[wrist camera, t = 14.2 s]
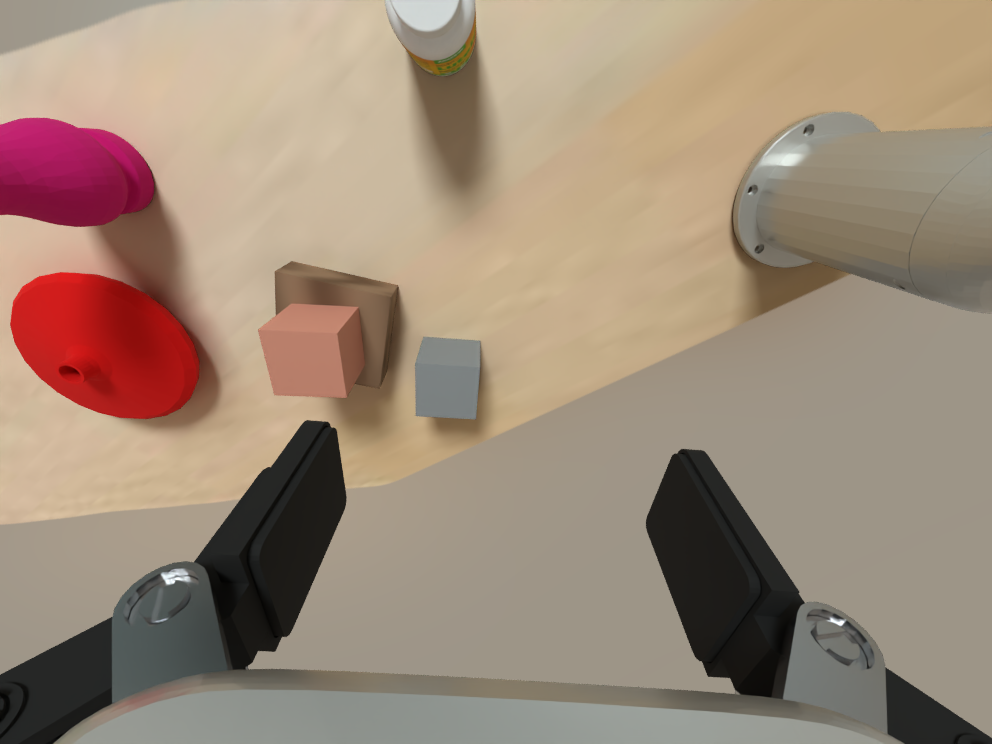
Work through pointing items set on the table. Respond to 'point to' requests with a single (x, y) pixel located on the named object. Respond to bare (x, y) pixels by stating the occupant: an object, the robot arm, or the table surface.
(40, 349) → the flat cone with hole
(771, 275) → the table surface
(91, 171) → the pepper mill
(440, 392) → the grey cube
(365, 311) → the walnut block
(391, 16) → the supplement bottle
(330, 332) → the salmon pink cube
